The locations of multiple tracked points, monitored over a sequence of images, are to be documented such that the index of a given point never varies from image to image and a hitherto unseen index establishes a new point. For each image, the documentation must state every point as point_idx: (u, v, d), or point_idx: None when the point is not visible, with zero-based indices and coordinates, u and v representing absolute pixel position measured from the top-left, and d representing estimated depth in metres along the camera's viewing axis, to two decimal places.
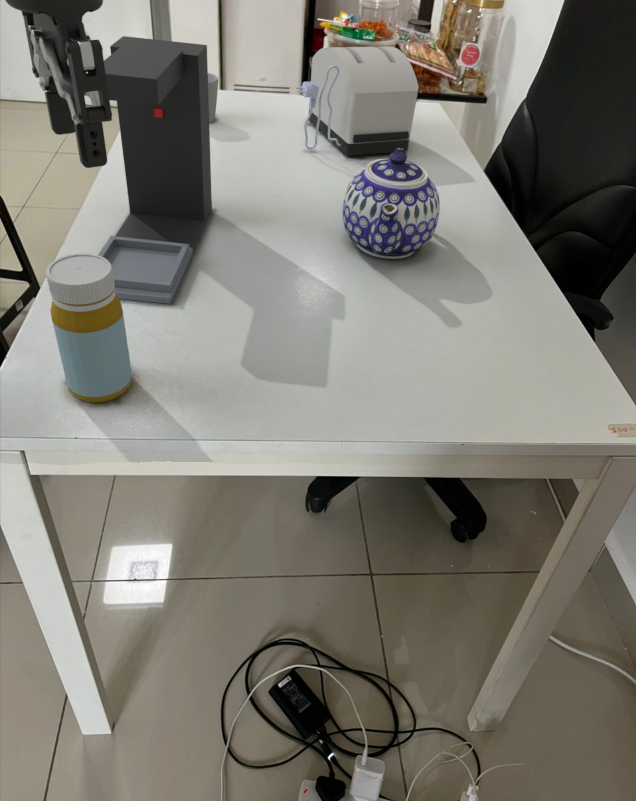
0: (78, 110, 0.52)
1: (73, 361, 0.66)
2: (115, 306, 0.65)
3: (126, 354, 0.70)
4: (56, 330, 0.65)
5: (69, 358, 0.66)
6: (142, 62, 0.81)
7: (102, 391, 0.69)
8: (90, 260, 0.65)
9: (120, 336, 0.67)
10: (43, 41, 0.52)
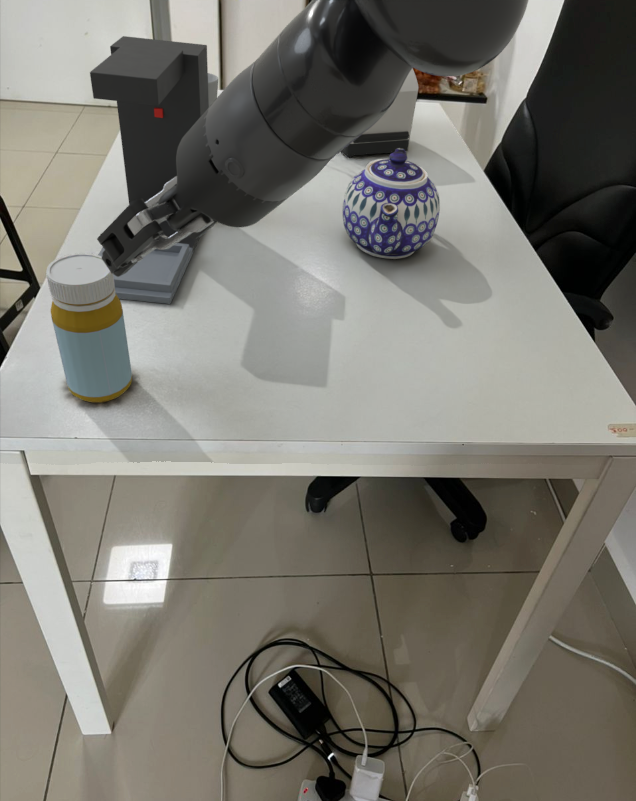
0: None
1: (74, 361, 0.66)
2: (115, 306, 0.65)
3: (126, 354, 0.70)
4: (56, 330, 0.65)
5: (69, 358, 0.66)
6: (142, 62, 0.81)
7: (102, 391, 0.69)
8: (90, 260, 0.65)
9: (120, 336, 0.67)
10: (176, 178, 0.46)
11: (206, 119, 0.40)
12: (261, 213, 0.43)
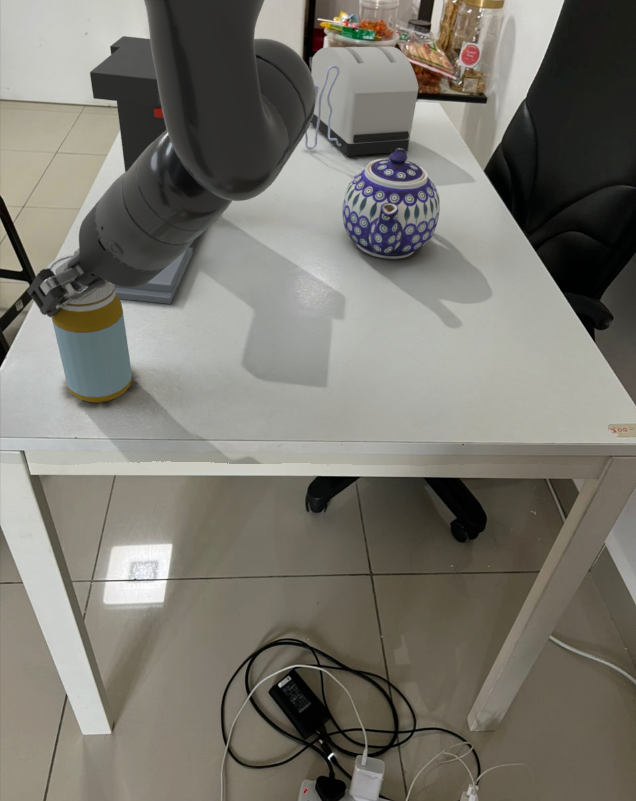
0: None
1: (74, 361, 0.66)
2: (115, 306, 0.65)
3: (126, 354, 0.70)
4: (56, 330, 0.65)
5: (69, 358, 0.66)
6: (142, 62, 0.81)
7: (101, 391, 0.69)
8: None
9: (120, 336, 0.67)
10: None
11: (96, 209, 0.51)
12: (146, 277, 0.55)
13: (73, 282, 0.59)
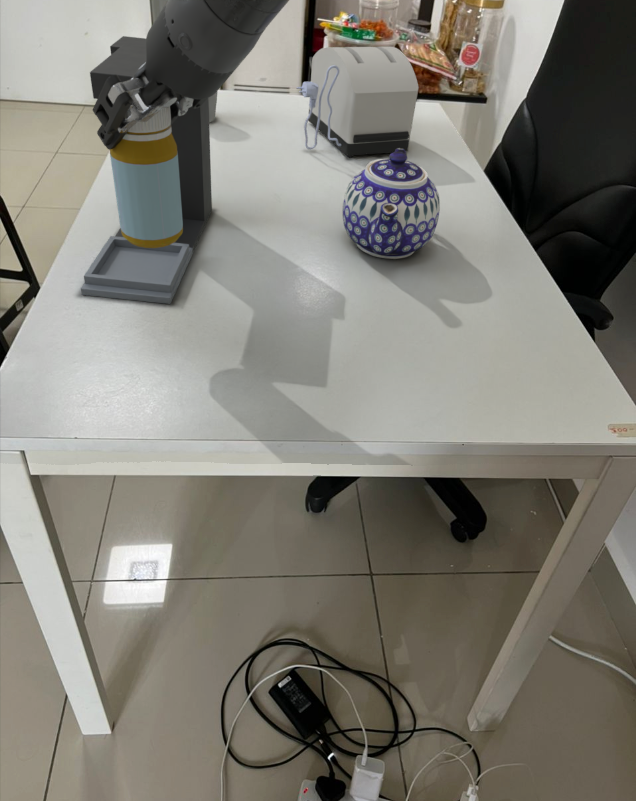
0: None
1: (131, 198, 0.69)
2: (171, 142, 0.67)
3: (179, 198, 0.72)
4: (115, 165, 0.67)
5: (126, 196, 0.69)
6: (142, 62, 0.81)
7: (156, 233, 0.71)
8: None
9: (175, 176, 0.69)
10: None
11: (165, 6, 0.54)
12: (210, 85, 0.57)
13: (136, 103, 0.61)
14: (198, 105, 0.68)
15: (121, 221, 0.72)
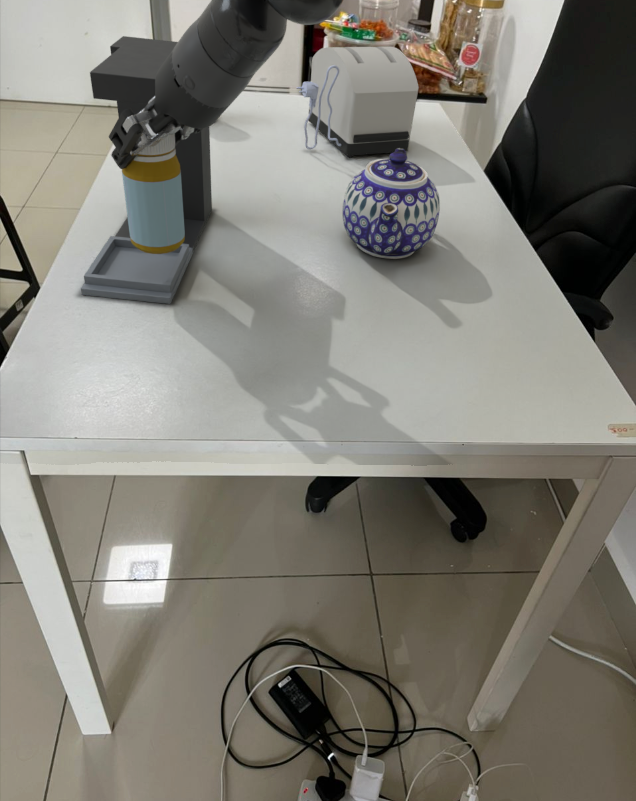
0: None
1: (140, 211, 0.79)
2: (175, 162, 0.78)
3: (182, 211, 0.82)
4: (126, 182, 0.77)
5: (135, 209, 0.79)
6: (142, 62, 0.81)
7: (161, 241, 0.82)
8: None
9: (178, 191, 0.80)
10: None
11: (172, 53, 0.64)
12: (209, 117, 0.68)
13: (145, 131, 0.72)
14: (198, 130, 0.78)
15: (131, 230, 0.82)
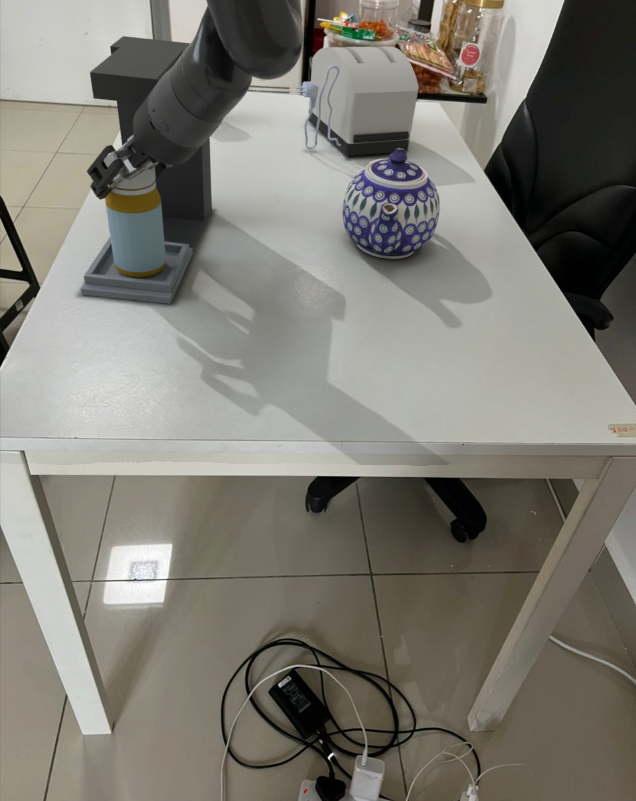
0: None
1: (122, 239, 0.84)
2: (156, 194, 0.83)
3: (162, 238, 0.87)
4: (109, 213, 0.83)
5: (118, 237, 0.84)
6: (142, 62, 0.81)
7: (143, 267, 0.87)
8: None
9: (158, 221, 0.85)
10: None
11: (148, 98, 0.69)
12: (183, 155, 0.73)
13: (123, 165, 0.77)
14: None
15: (114, 256, 0.87)
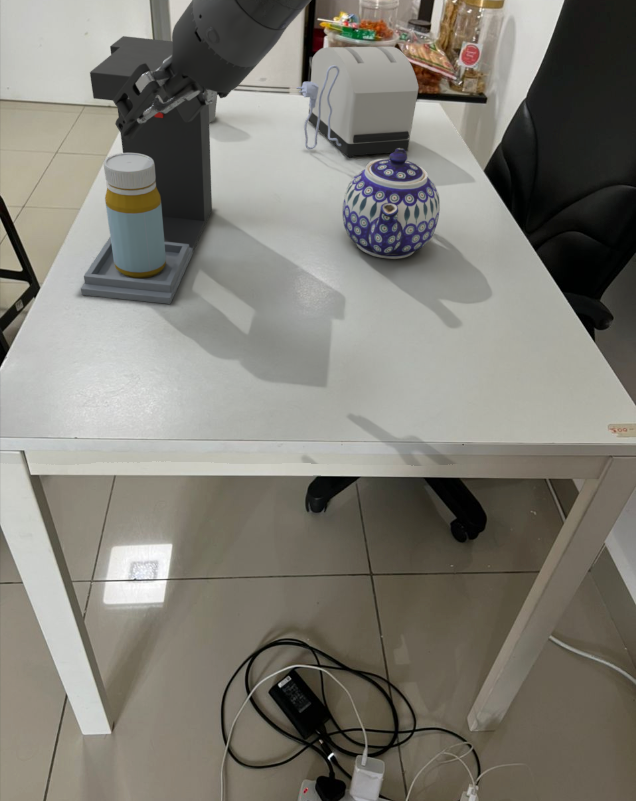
0: None
1: (122, 239, 0.84)
2: (156, 194, 0.83)
3: (162, 238, 0.87)
4: (109, 213, 0.83)
5: (118, 237, 0.84)
6: (142, 62, 0.81)
7: (143, 267, 0.87)
8: (136, 157, 0.82)
9: (158, 221, 0.85)
10: None
11: (193, 2, 0.56)
12: (233, 78, 0.59)
13: None
14: (224, 95, 0.70)
15: (114, 256, 0.87)
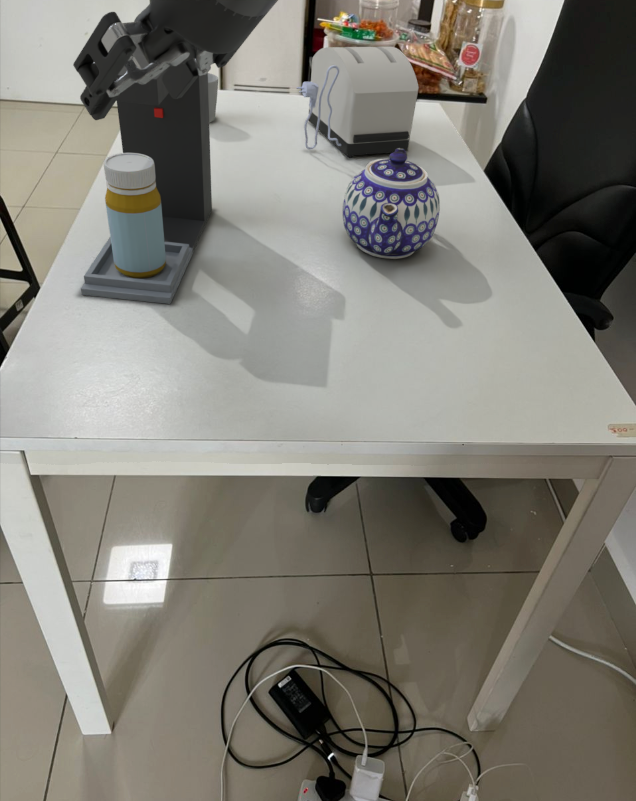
0: None
1: (122, 239, 0.84)
2: (156, 194, 0.83)
3: (162, 238, 0.87)
4: (109, 213, 0.83)
5: (118, 237, 0.84)
6: (142, 62, 0.81)
7: (143, 267, 0.87)
8: (136, 157, 0.82)
9: (158, 221, 0.85)
10: None
11: None
12: (234, 33, 0.44)
13: (133, 58, 0.48)
14: (223, 63, 0.55)
15: (114, 256, 0.87)
